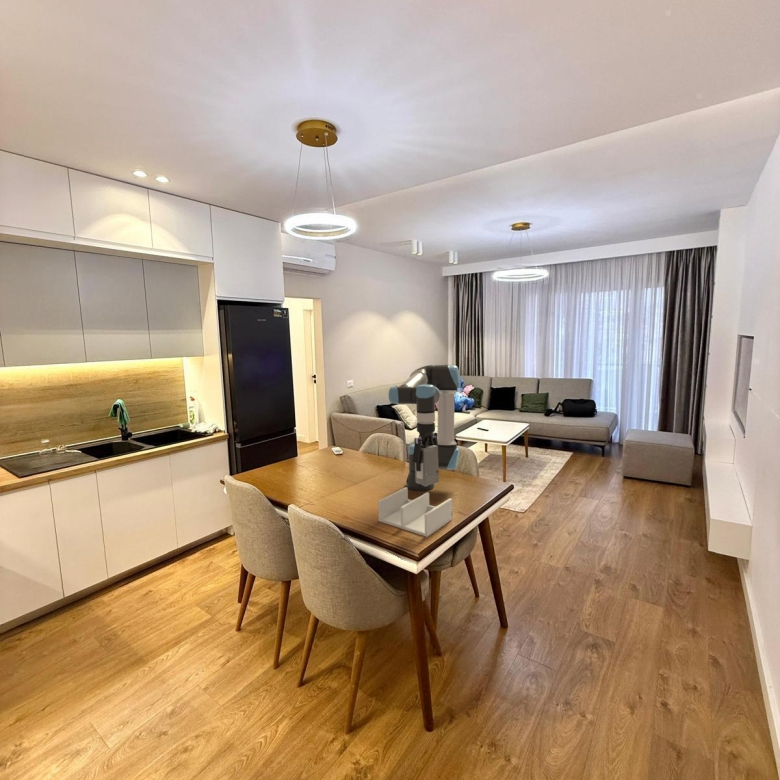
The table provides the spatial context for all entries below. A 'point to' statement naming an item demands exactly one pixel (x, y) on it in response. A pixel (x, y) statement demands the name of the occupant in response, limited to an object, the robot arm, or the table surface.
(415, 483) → the robot arm
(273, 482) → the table surface
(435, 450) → the skincare box
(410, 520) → the rack
